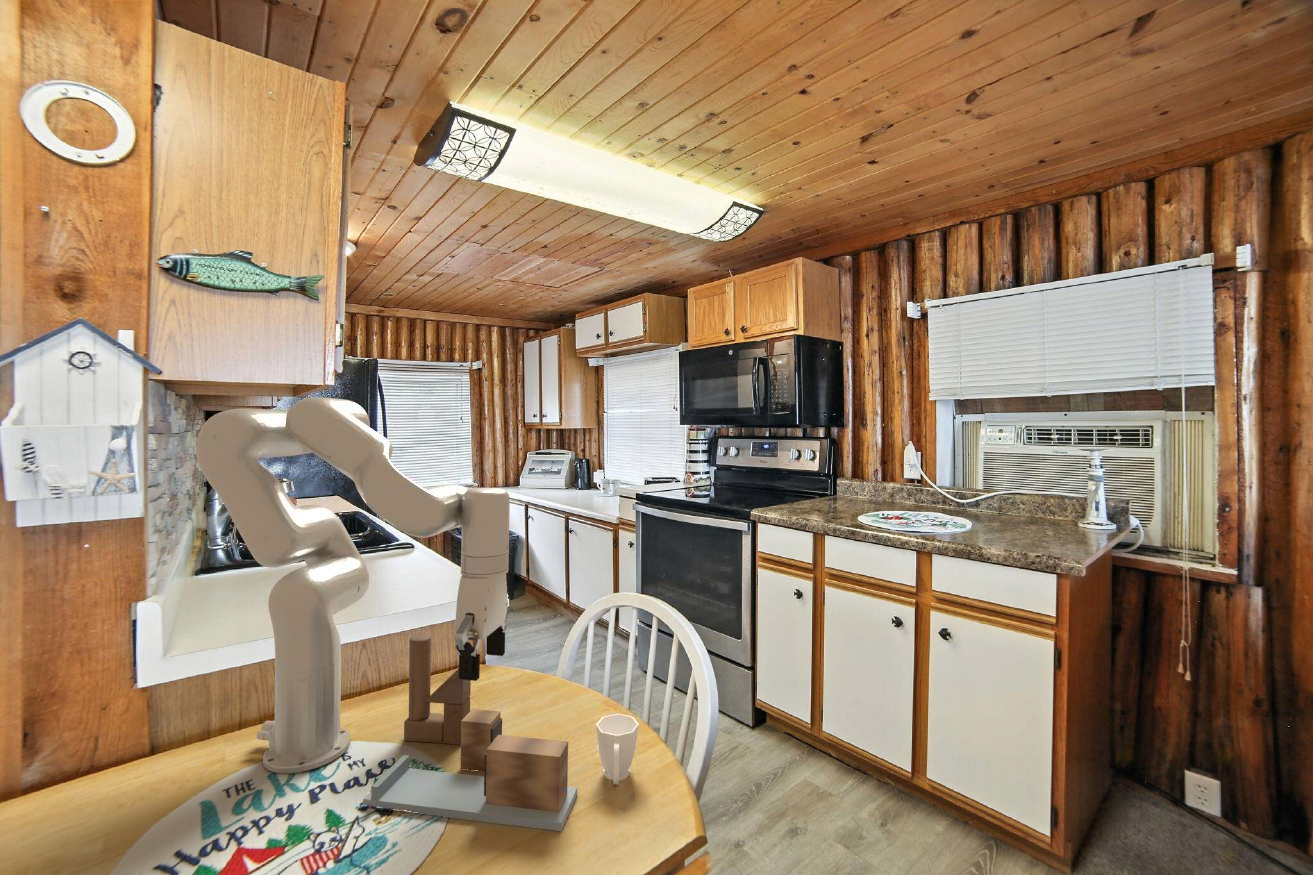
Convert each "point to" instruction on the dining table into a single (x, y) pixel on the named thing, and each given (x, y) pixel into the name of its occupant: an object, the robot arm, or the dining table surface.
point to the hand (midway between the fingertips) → (482, 666)
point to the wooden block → (433, 699)
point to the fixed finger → (526, 773)
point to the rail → (456, 798)
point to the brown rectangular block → (478, 737)
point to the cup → (617, 744)
